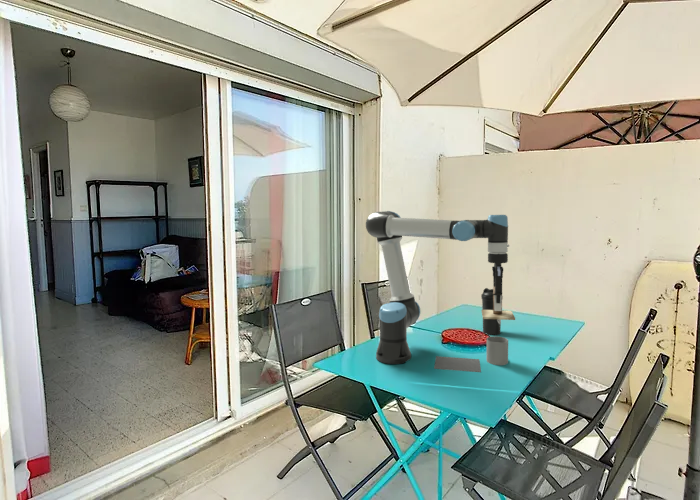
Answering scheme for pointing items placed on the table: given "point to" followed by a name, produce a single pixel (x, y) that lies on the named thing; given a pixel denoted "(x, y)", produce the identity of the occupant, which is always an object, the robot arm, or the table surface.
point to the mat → (457, 364)
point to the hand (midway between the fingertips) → (497, 309)
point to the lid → (497, 313)
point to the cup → (497, 350)
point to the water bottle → (487, 304)
